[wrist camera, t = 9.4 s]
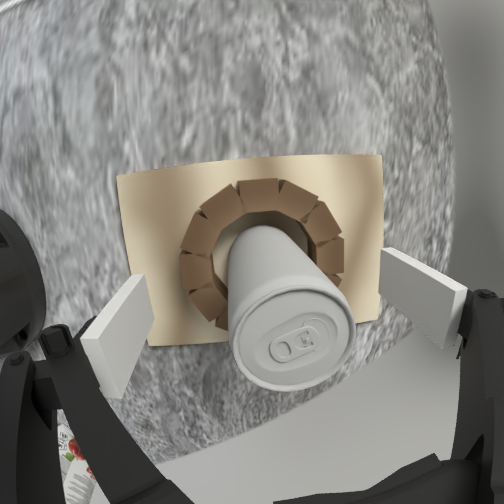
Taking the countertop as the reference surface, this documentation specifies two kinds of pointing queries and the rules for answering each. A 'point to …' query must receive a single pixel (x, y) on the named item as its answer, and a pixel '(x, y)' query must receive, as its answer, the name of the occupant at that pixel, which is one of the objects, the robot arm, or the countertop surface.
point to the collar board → (240, 218)
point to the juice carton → (74, 469)
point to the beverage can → (284, 313)
